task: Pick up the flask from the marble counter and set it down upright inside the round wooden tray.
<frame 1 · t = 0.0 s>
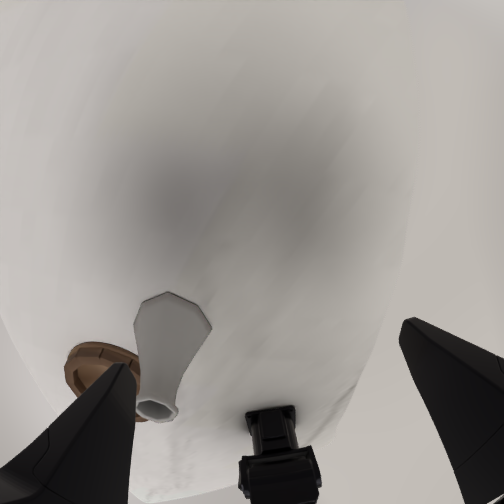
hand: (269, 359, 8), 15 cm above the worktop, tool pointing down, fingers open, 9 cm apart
flask: (172, 323, 25), on the worktop
round wooden tray: (115, 381, 28), on the worktop
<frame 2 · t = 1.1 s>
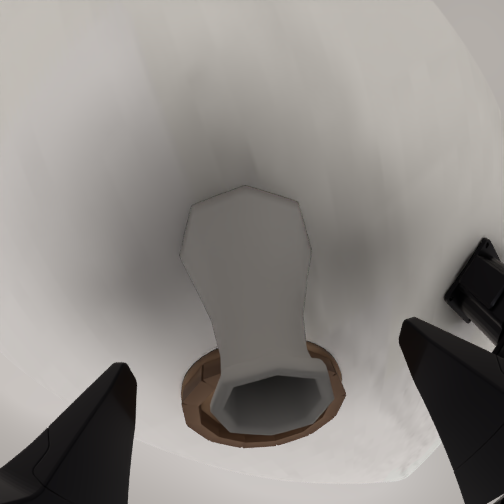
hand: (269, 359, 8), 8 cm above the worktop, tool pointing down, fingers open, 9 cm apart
flask: (245, 248, 15), on the worktop
round wooden tray: (262, 394, 20), on the worktop
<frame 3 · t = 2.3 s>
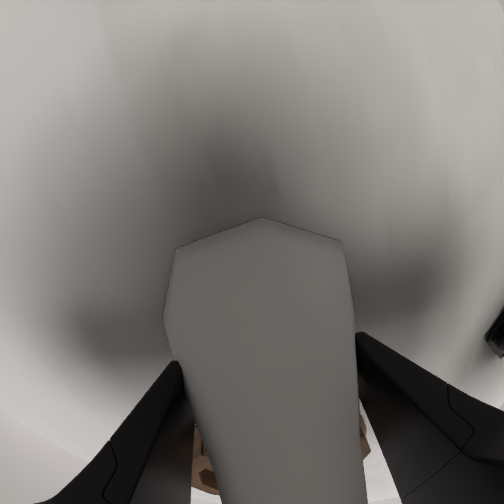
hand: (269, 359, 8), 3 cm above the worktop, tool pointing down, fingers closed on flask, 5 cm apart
flask: (259, 307, 10), on the worktop, touching gripper
round wooden tray: (273, 451, 15), on the worktop
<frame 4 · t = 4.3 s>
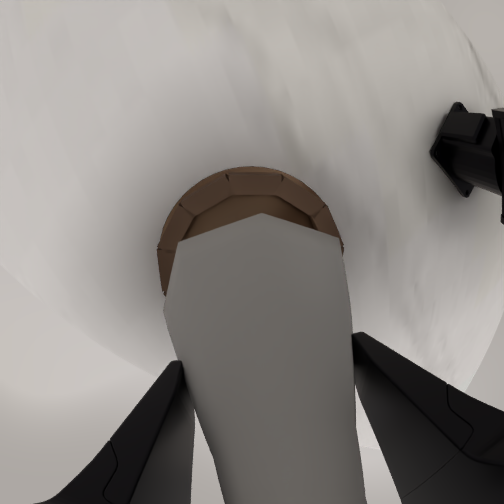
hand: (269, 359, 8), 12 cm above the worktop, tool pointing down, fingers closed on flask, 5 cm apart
flask: (258, 301, 11), point 9 cm above the worktop, touching gripper
round wooden tray: (250, 257, 20), on the worktop
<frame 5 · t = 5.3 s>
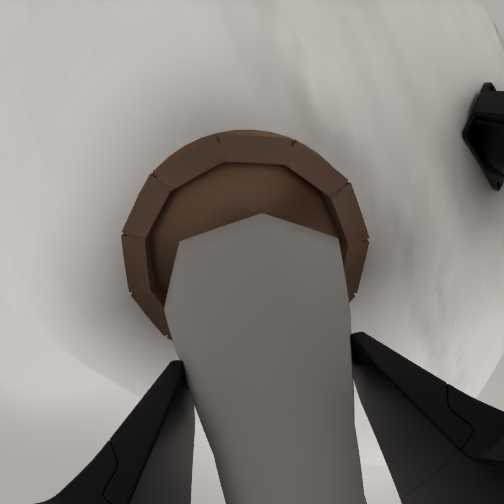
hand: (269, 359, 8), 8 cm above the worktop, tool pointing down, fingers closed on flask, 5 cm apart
flask: (258, 300, 11), point 5 cm above the worktop, touching gripper
round wooden tray: (245, 250, 15), on the worktop
when the fingers open (5 cm above the worktop, at t = 6.3 s): flask drops 1 cm, resting on round wooden tray.
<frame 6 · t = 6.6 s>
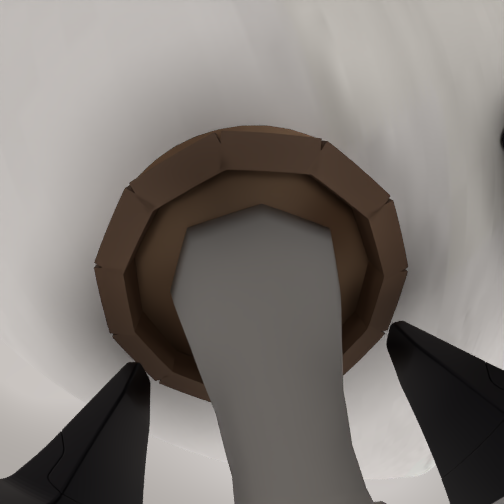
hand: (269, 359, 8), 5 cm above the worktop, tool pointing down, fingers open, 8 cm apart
flask: (256, 284, 12), resting on round wooden tray
round wooden tray: (253, 281, 12), on the worktop
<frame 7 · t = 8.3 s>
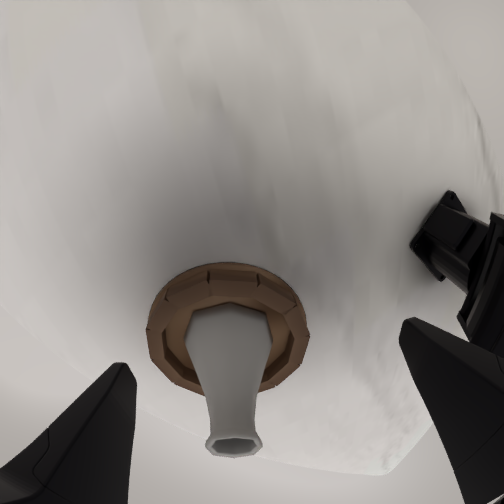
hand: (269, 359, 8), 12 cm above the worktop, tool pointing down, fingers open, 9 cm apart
flask: (228, 336, 22), resting on round wooden tray
round wooden tray: (227, 333, 22), on the worktop
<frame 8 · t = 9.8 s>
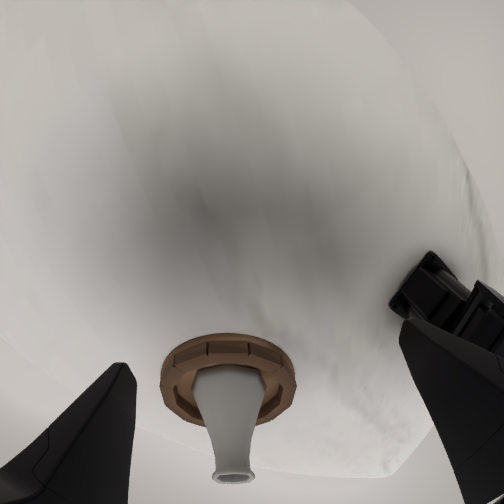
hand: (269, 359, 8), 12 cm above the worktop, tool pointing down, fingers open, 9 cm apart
flask: (228, 384, 24), resting on round wooden tray
round wooden tray: (227, 382, 25), on the worktop
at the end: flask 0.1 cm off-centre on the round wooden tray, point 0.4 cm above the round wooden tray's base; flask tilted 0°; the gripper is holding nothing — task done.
